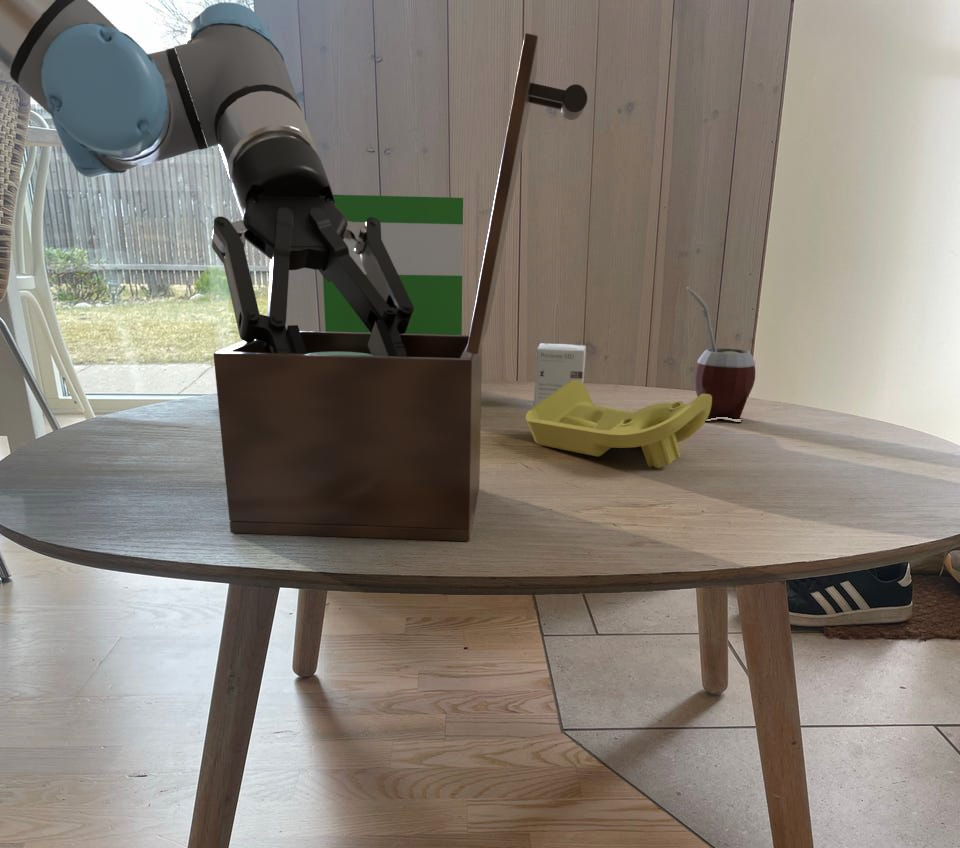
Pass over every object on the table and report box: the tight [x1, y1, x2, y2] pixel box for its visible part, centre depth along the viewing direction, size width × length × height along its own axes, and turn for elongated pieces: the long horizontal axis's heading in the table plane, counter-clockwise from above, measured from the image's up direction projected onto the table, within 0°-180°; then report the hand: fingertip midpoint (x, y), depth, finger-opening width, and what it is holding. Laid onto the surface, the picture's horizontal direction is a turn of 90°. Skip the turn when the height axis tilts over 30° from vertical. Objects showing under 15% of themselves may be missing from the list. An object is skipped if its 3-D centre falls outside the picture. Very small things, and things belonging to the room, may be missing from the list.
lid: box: [467, 32, 588, 354], centre depth 65 cm, size 19×15×5 cm
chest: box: [213, 330, 483, 542], centre depth 72 cm, size 18×15×13 cm
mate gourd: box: [685, 286, 756, 419], centre depth 110 cm, size 8×8×15 cm
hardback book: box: [322, 194, 464, 335], centre depth 122 cm, size 18×7×24 cm, turn 97°
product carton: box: [533, 342, 587, 407], centre depth 117 cm, size 6×6×7 cm
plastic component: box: [525, 380, 712, 469], centre depth 93 cm, size 20×7×10 cm
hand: (358, 405), depth 69 cm, fingers open, 6 cm apart
